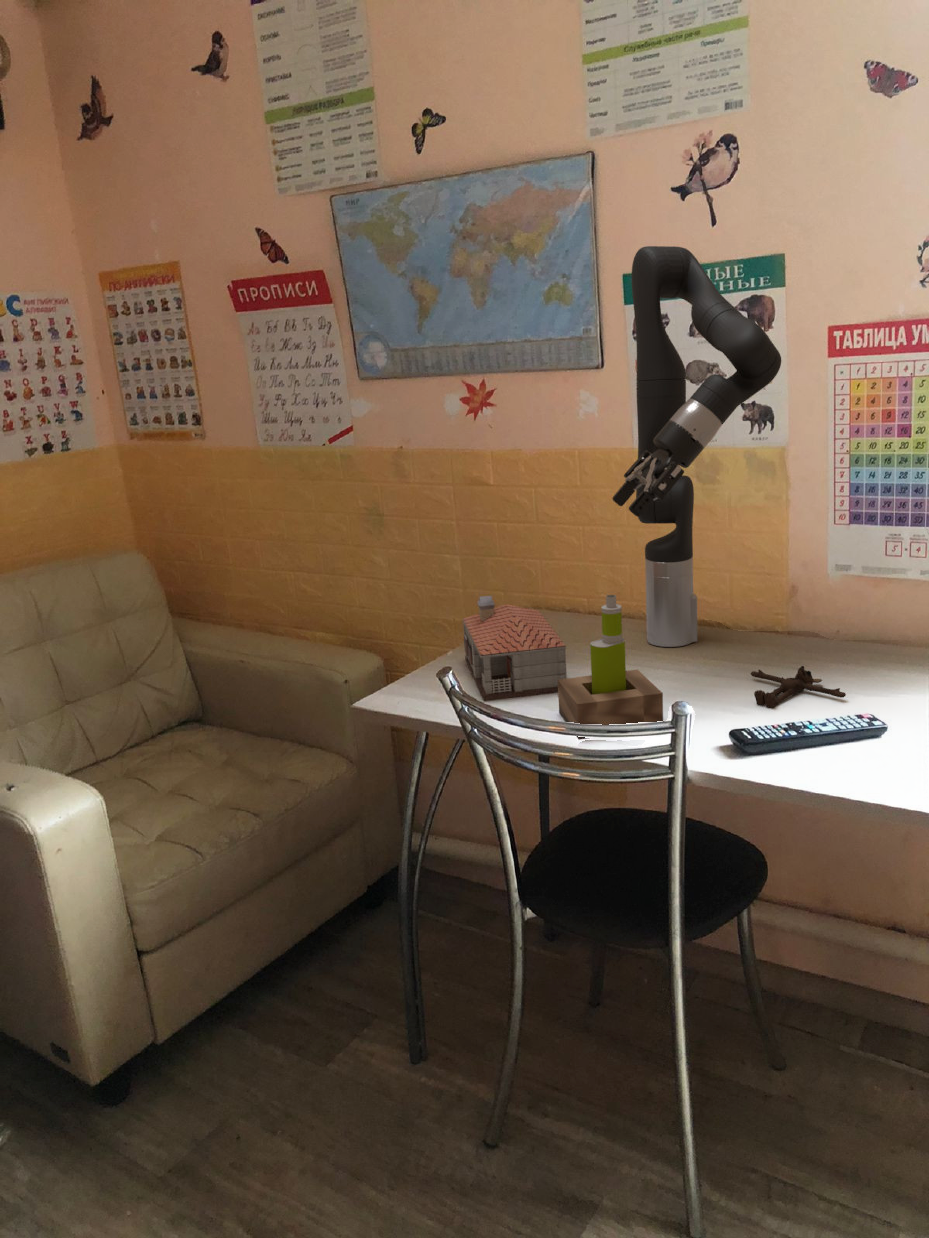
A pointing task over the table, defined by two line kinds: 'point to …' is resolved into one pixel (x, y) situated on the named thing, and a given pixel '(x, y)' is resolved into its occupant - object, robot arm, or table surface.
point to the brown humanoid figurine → (790, 687)
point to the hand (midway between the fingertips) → (624, 508)
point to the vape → (609, 651)
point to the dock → (610, 701)
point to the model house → (512, 652)
